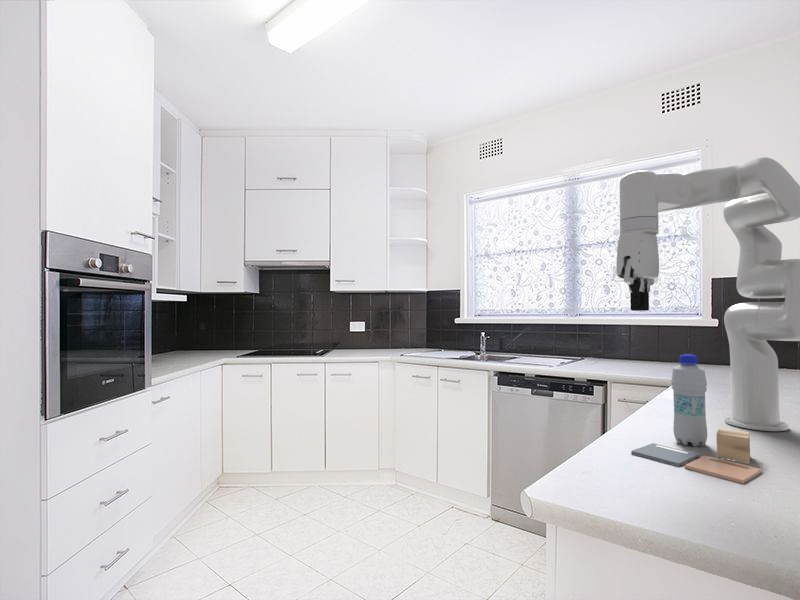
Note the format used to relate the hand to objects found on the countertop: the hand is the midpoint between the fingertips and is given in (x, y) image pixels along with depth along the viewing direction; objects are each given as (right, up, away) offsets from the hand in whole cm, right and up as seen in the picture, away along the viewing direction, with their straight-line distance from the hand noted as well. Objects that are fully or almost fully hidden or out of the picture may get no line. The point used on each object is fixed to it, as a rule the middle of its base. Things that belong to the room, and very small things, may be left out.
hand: (639, 310), depth 94 cm
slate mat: (+1, -30, -7) cm, 30 cm away
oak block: (+14, -30, -8) cm, 34 cm away
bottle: (+12, -30, +1) cm, 32 cm away
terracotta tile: (+7, -29, -15) cm, 34 cm away
